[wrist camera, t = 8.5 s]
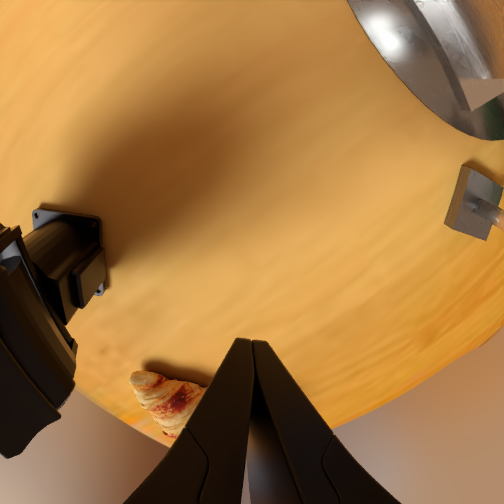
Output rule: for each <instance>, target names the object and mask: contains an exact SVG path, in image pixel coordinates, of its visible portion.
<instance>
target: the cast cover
mask: <svg viewBox="0 0 504 504" xmlns="http://www.w3.org/2000/svg"><path fill="white" fill-rule="evenodd" d="M402 1H403V2H404V4H405V5H406V7H407V8H408V10H409V11H410V12H411V14H412V15H413V17H414V18H415V20H416V22H417V23H418V25H419V26H420V28H421V30H422V31H423V33H424V35H425V36H426V38H427V40H428V41H429V43H430V45H431V47H432V48H433V50H434V52H435V54H436V56H437V58H438V60H439V62H440V64H441V65H442V67H443V70H444V72H445V74H446V76H447V78H448V80H449V82H450V84H451V87H452V89H453V91H454V93H455V96H456V98H457V101H458V103H459V106H460V108H461V111H470V112H472V111H473V110H475V109H476V108H478V107H480V106H481V105H483V104H485V103H486V102H488V101H490V100H491V99H493V98H495V97H496V96H498V95H500V94H501V93H503V92H504V0H402Z"/></svg>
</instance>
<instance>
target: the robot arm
mask: <svg viewBox="0 0 504 504" xmlns="http://www.w3.org/2000/svg"><path fill="white" fill-rule="evenodd" d="M37 213H38V214H39V217H38V215H37ZM32 217H33V228H34V230H33V231H32V232H30V233H29V234H28V235H26V236H25V237H23V238H22V236H21V234H22V231H21V229H20V226H19V225H17V226H15V227H13V228H10V227H4V226H3V225H2V224H1V223H0V455H2V456H3V457H4V458H7V459H9V458H12V457H14V456H17V455H19V454H21V453H22V452H23V450H24V449H25V448H26V446H27V445H28V444H29V443H30V441H31V440H32V439H33V438H34V436H35V435H36V434H37V433H38V432H39V431H41V430H42V429H43V428H44V427H46V426H47V425H49V424H51V423H53V422H54V421H57V420H59V419H60V418H61V414H60V413H59V412H58V411H57V410H59V409H60V408H61V407H62V406H63V405H64V404H65V402H66V401H67V399H68V398H69V397H70V395H71V393H72V391H73V390H74V387H75V381H74V380H73V378H74V374H75V369H76V353H77V348H78V344H77V343H76V341H75V340H74V338H72V337H71V336H70V334H69V332H68V331H67V329H66V327H65V326H66V325H67V324H68V323H69V321H70V320H71V318H72V317H73V315H74V314H75V312H76V311H77V310H78V308H80V309H83V308H84V307H85V306H86V305H87V304H88V302H89V301H90V299H91V298H92V296H93V295H97V296H101V295H103V293H104V292H105V281H104V280H105V278H106V267H105V249H104V247H103V246H102V222H101V220H100V218H99V217H97V216H91V215H85V214H78V213H71V212H64V211H57V210H50V209H43V208H37V209H35V210H34V211H33V213H32ZM93 221H94V222H95V223H96V226H94V224H93ZM98 288H99V289H100V290H98ZM64 325H65V326H64ZM246 461H247V471H248V481H249V491H250V500H251V504H401V503H400V502H399V501H398V500H397V499H395V498H394V497H393V496H392V495H391V494H390V493H389V492H388V491H387V490H386V489H384V488H383V487H382V486H381V485H380V484H379V483H378V482H377V481H376V480H375V479H374V478H372V476H371V475H370V474H369V473H368V472H367V471H366V470H365V469H364V468H363V467H362V466H361V465H360V464H359V463H358V462H357V461H356V460H355V459H354V457H353V456H352V455H351V454H350V453H349V451H348V450H347V449H346V448H345V447H344V445H343V444H342V443H341V442H340V440H339V439H338V438H337V436H336V435H333V431H332V430H331V429H330V427H329V426H328V425H327V423H326V422H325V421H324V419H323V418H322V417H321V415H320V414H319V413H318V411H317V410H316V409H315V407H314V406H313V405H312V403H311V402H310V401H309V399H308V398H307V397H306V395H305V394H304V392H303V391H302V390H301V388H300V387H299V386H298V384H297V383H296V381H295V380H294V379H293V377H292V376H291V374H290V373H289V372H288V370H287V369H286V368H285V366H284V365H283V363H282V362H281V360H280V359H279V358H278V356H277V355H276V353H275V352H274V351H273V349H272V348H271V346H270V345H269V343H268V342H267V341H263V340H252V341H251V340H250V339H246V338H236V339H235V340H234V342H233V344H232V346H231V347H230V349H229V351H228V353H227V354H226V356H225V358H224V360H223V361H222V363H221V365H220V367H219V368H218V370H217V372H216V374H215V375H214V377H213V379H212V380H211V382H210V384H209V386H208V387H207V389H206V391H205V392H204V394H203V396H202V398H201V399H200V401H199V403H198V404H197V406H196V408H195V409H194V411H193V413H192V414H191V416H190V418H189V419H188V421H187V423H186V424H185V428H183V429H182V431H181V432H180V434H179V436H178V437H177V439H176V440H175V442H174V443H173V445H172V446H171V448H170V449H169V451H168V452H167V454H166V455H165V457H164V458H163V459H162V460H161V462H160V463H159V464H158V465H157V466H156V468H155V469H154V470H153V472H152V473H151V474H150V475H149V476H148V477H147V478H146V479H145V480H144V482H142V484H141V485H140V486H139V487H138V488H137V489H136V490H135V491H134V492H133V493H132V494H131V496H129V498H128V499H127V500H126V501H125V502H124V503H123V504H241V496H242V488H243V480H244V471H245V462H246Z"/></svg>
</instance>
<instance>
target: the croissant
mask: <svg viewBox="0 0 504 504" xmlns="http://www.w3.org/2000/svg"><path fill="white" fill-rule="evenodd" d="M129 382H130V383H131V385H132V386H133V390H134V392H135V396H136V398H137V399H138V401H139V403H140V405H141V407H142V408H144V409H145V410H148V411H150V412H151V415H152V416H153V418H154V420H155V422H156V424H157V425H158V427H159V428H161V429H162V431H163V435H165V436H167V437H172V438H175V439H177V437H178V436H179V434H180V432H181V431H182V429H183V428H185V424H186V423H187V421H188V419H189V418H190V416H191V414H192V413H193V411H194V409H195V408H196V406H197V404H198V403H199V401H200V399H201V398H202V396H203V394H204V392H205V391H206V389H207V387H205V388H203V387H200V386H199V385H198V384H195V383H192V382H187V381H184V382H183V381H178V380H168V379H167V378H165V377H164V376H163V375H161V374H157V373H153V372H148V371H136V372H133V373H132V374H131V377H130V379H129ZM246 462H247V461H246Z"/></svg>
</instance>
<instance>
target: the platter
mask: <svg viewBox="0 0 504 504" xmlns="http://www.w3.org/2000/svg"><path fill="white" fill-rule="evenodd" d="M347 1H348V3H349V5H350V7H351V9H352V11H353V13H354V14H355V16H356V18H357V20H358V22H359V23H360V25H361V26H362V28H363V29H364V31H365V33H366V34H367V36H368V38H369V39H370V41H371V42H372V43H373V45H374V46H375V47H376V49H377V50H378V52H379V53H380V55H381V56H382V57H383V59H384V60H385V61H386V62H387V64H388V65H389V66H390V67H391V69H392V70H393V71H394V72H395V74H396V75H397V76H398V77H399V78H400V79H401V81H402V82H403V83H404V84H405V85H406V86H407V87H408V88H409V89H410V90H411V92H412V93H413V94H414V95H415V96H416V97H417V98H419V99H420V100H421V101H422V102H423V103H424V104H425V105H426V106H427V107H428V108H429V109H430V110H431V111H433V112H434V113H435V114H436V115H438V116H439V117H440V118H441V119H442V120H444V121H445V122H447V123H448V124H450V125H451V126H453V127H454V128H456V129H458V130H460V131H462V132H464V133H466V134H468V135H470V136H473V137H476V138H480V139H485V140H492V141H493V140H503V139H504V92H503V93H501V94H500V95H498V96H496V97H495V98H493V99H491V100H490V101H488V102H486V103H485V104H483V105H481V106H480V107H478V108H476V109H475V110H473V111H472V112H470V111H461V108H460V106H459V103H458V101H457V98H456V96H455V93H454V91H453V89H452V87H451V84H450V82H449V80H448V78H447V76H446V74H445V72H444V70H443V67H442V65H441V64H440V62H439V60H438V58H437V56H436V54H435V52H434V50H433V48H432V47H431V45H430V43H429V41H428V40H427V38H426V36H425V35H424V33H423V31H422V30H421V28H420V26H419V25H418V23H417V22H416V20H415V18H414V17H413V15H412V14H411V12H410V11H409V10H408V8H407V7H406V5H405V4H404V2H403V1H402V0H347Z"/></svg>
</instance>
